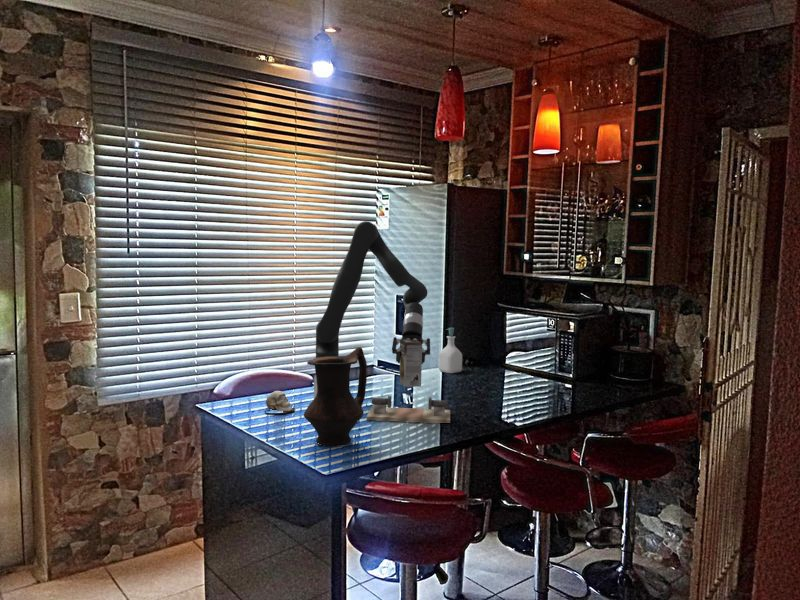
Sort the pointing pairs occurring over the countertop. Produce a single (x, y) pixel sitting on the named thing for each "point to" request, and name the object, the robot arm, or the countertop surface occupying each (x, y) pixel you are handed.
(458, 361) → the soap bottle
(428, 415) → the shaft board
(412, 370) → the coffee box
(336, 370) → the jug
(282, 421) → the countertop surface
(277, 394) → the skull
